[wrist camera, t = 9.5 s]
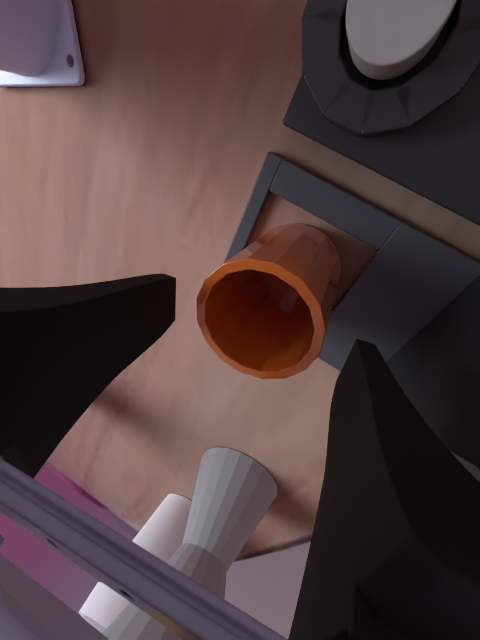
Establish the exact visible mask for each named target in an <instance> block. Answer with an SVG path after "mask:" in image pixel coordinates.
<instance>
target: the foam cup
mask: <svg viewBox="0 0 480 640" xmlns="http://www.w3.org/2000/svg"><path fill="white" fill-rule="evenodd" d="M191 503H192V501H190V500H189V499H187V498H185V497H183V496H181V495H177V494H168V496H167V497H166V498H165V499H164V500H163V502H162V503H161V504H160V506H159V507H158V508H157V509H156V511H155V512H154V513H153V515H152V516H151V517H150V518H149V520H148V521H147V522H146V524H145V525H144V526H143V528H142V529H141V530H140V531H139V533H138V534H137V535H136V537H135V538H134V539H133V541H132V542H134V543H136V544H137V545H139V546H140V547H142V548H144V549H145V550H147V551H148V552H150V553H151V554H153V555H155V556H156V557H158V558H159V559H161V560H163V561H164V562H167V561H168V560H169V559H170V557H171V556H172V555H173V554H174V553H175V552H176V551H177V550H178V548H179V547H180V546H181V545H182V543H183V539H184V534H185V530H186V525H187V521H188V516H189V512H190V508H191ZM129 603H130V602H129V601H128V600H127V599H125V598H124V597H122V596H121V595H119V594H118V593H117V592H115V591H114V590H112V589H111V588H109V587H108V586H106V585H105V584H104V583H102V582H100V583H99V582H98V583H97V585H96V586H95V588H94V589H93V591H92V592H91V594H90V596H89V597H88V599H87V600H86V602H85V603H84V605H83V606H82V608H81V610H80V611H79V614H80V615H81V616H82V617H83V618H84V619H85V620H86V621H87V622H88V623H90V624H91V625H92V626H93V627H95V628H96V629H97V630H98V631H100V632H101V633H103V632H104V631H105V630H106V629H107V628H108V627H109V626H110V624H111V623H112V622H113V621H114V620H115V619H116V618H117V617H118V615H119V614H120V613H121V612H122V611H123V610H124V609H125V608H126V607H127V605H128V604H129Z"/></svg>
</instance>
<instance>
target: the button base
mask: <svg viewBox="0 0 480 640" xmlns="http://www.w3.org/2000/svg"><path fill="white" fill-rule="evenodd" d="M347 1H348V0H308V2H307V5H306V8H305V10H304V13H303V17H302V76H301V78H300V81H299V83H298V85H297V88H296V90H295V93H294V95H293V98H292V100H291V103H290V105H289V108H288V110H287V113H286V115H285V118H284V120H283V124H284V125H285V126H287V127H289V128H291V129H293V130H295V131H297V132H299V133H301V134H303V135H305V136H307V137H308V138H310V139H312V140H314V141H316V142H318V143H320V144H322V145H324V146H326V147H328V148H330V149H332V150H334V151H336V152H338V153H340V154H341V155H343V156H345V157H347V158H349V159H351V160H353V161H355V162H357V163H359V164H361V165H363V166H365V167H367V168H369V169H371V170H373V171H375V172H376V173H378V174H380V175H382V176H384V177H386V178H388V179H390V180H392V181H394V182H396V183H398V184H400V185H402V186H404V187H406V188H408V189H409V190H411V191H413V192H415V193H417V194H419V195H421V196H423V197H425V198H427V199H429V200H431V201H433V202H435V203H437V204H439V205H441V206H443V207H444V208H446V209H448V210H450V211H452V212H454V213H456V214H458V215H460V216H462V217H464V218H466V219H468V220H470V221H472V222H474V223H476V224H477V225H479V226H480V0H457V1H456V3H455V6H454V8H453V10H452V12H451V14H450V16H449V18H448V19H447V21H446V23H445V25H444V27H443V28H442V30H441V32H440V34H439V36H438V38H437V39H436V41H435V43H434V44H433V46H432V47H431V49H430V50H429V51H428V53H427V54H426V55H425V56H424V57H423V58H422V59H421V60H420V62H418V63H417V64H416V65H415V66H414V67H413V68H411V69H410V70H408V71H407V72H405V73H403V74H402V75H399V76H397V77H394V78H391V79H385V80H377V79H372V78H369V77H367V76H365V75H364V74H362V73H361V72H360V71H359V70H358V68H357V67H356V66H355V64H354V62H353V60H352V57H351V53H350V48H349V43H348V37H347V31H346V7H347Z"/></svg>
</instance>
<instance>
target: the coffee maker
mask: <svg viewBox="0 0 480 640" xmlns="http://www.w3.org/2000/svg"><path fill="white" fill-rule="evenodd" d="M270 191H271V192H273V193H275V194H277V195H279V196H281V197H282V198H284V199H286V200H288V201H290V202H292V203H293V204H295V205H297V206H299V207H301V208H303V209H304V210H306V211H308V212H310V213H312V214H314V215H315V216H317V217H319V218H321V219H323V220H325V221H326V222H328V223H330V224H332V225H334V226H336V227H337V228H339V229H341V230H343V231H345V232H347V233H348V234H350V235H352V236H354V237H356V238H358V239H359V240H361V241H363V242H365V243H367V244H369V245H370V246H372V247H374V248H376V249H378V251H377V252H376V253H375V255H374V256H373V257H372V259H371V260H370V261H369V262H368V264H367V265H366V266H365V268H364V269H363V270H362V272H361V273H360V274H359V276H358V277H357V278H356V280H355V281H354V282H353V283H352V285H351V286H350V287H349V289H348V290H347V291H346V293H345V294H344V295H343V297H342V298H341V299H340V301H339V302H338V303H337V305H336V306H335V307H334V308H333V310H332V311H331V314H330V318H329V322H328V326H327V330H326V334H325V338H324V342H323V345H322V349H321V353H320V355H319V356H318V358H320V359H321V360H323V361H325V362H326V363H328V364H330V365H331V366H333V367H335V368H336V369H338V370H340V371H341V370H342V368H343V366H344V364H345V362H346V360H347V357H348V355H349V353H350V351H351V349H352V347H353V345H354V343H355V341H356V339H357V338H358V339H361V340H364V341H367V342H370V343H373V344H375V345H376V346H377V348H378V350H379V352H380V353H381V355H382V357H383V359H384V360H385V362H386V364H387V365H388V367H389V369H390V371H391V372H392V374H393V376H394V377H395V379H396V380H397V382H398V384H399V385H400V387H401V388H402V390H403V391H404V393H405V394H406V396H407V397H408V399H409V400H410V402H411V403H412V404H413V406H414V407H415V409H416V410H417V411H418V413H419V414H420V415H421V417H422V418H423V419H424V421H425V422H426V423H427V424H428V426H429V427H430V428H431V429H432V430H433V432H434V433H435V434H436V435H437V436H438V438H439V439H440V440H441V441H442V442H443V444H444V445H445V446H446V447H447V448H448V449H449V450H450V452H451V453H452V454H453V455H454V456H455V457H456V458H457V459H458V460H459V461H460V462H461V464H462V465H463V466H464V467H465V468H466V469H467V470H468V471H469V472H470V473H471V474H472V475H473V476H474V477H475V478H476V479H477V480H478V481H479V482H480V262H479V261H477V260H475V259H473V258H471V257H469V256H468V255H466V254H464V253H462V252H460V251H458V250H456V249H454V248H452V247H451V246H449V245H447V244H445V243H443V242H441V241H439V240H437V239H435V238H434V237H432V236H430V235H428V234H426V233H424V232H422V231H420V230H418V229H416V228H415V227H413V226H411V225H409V224H407V223H405V222H403V221H400V220H399V219H398V218H396V217H394V216H392V215H390V214H388V213H386V212H384V211H382V210H381V209H379V208H377V207H375V206H373V205H371V204H369V203H367V202H365V201H364V200H362V199H360V198H358V197H356V196H354V195H352V194H350V193H348V192H347V191H345V190H343V189H341V188H339V187H337V186H335V185H333V184H331V183H330V182H328V181H326V180H324V179H322V178H320V177H318V176H316V175H314V174H312V173H311V172H309V171H307V170H305V169H303V168H301V167H299V166H297V165H295V164H294V163H292V162H290V161H288V160H286V159H284V158H282V157H280V156H278V155H277V154H275V153H273V152H268V154H267V156H266V159H265V161H264V164H263V166H262V169H261V172H260V174H259V177H258V179H257V182H256V184H255V187H254V189H253V192H252V194H251V197H250V199H249V202H248V204H247V207H246V209H245V212H244V214H243V217H242V219H241V222H240V224H239V227H238V229H237V232H236V234H235V237H234V239H233V242H232V244H231V247H230V249H229V252H228V254H227V257H226V259H225V262H226V261H228V260H229V259H231V258H232V257H233V256H235V255H236V254H238V253H239V252H241V251H242V250H243V249H245V248H246V246H247V244H248V241H249V239H250V237H251V234H252V232H253V230H254V228H255V225H256V223H257V221H258V218H259V216H260V214H261V212H262V209H263V207H264V205H265V202H266V200H267V198H268V195H269V193H270ZM225 262H224V263H225Z"/></svg>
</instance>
